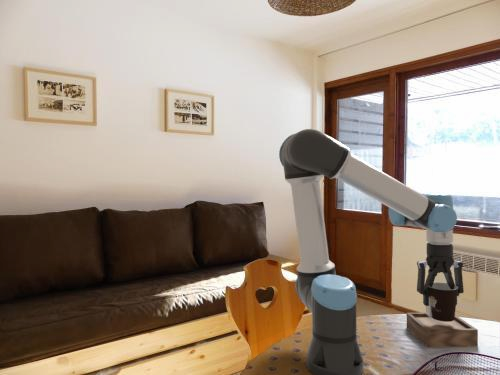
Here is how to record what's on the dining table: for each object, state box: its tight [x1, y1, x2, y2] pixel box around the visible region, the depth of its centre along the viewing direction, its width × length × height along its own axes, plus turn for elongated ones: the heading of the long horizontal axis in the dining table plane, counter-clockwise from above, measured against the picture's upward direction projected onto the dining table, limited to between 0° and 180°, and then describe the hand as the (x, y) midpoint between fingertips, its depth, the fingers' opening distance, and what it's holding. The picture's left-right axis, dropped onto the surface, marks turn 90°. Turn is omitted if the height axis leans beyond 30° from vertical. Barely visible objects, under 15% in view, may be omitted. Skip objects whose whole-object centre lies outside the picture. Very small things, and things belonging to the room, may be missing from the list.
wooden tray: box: [406, 311, 479, 348], centre depth 121 cm, size 15×15×5 cm
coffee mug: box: [428, 281, 458, 322], centre depth 121 cm, size 12×9×10 cm
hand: (440, 315), depth 121 cm, fingers closed on coffee mug, 6 cm apart
